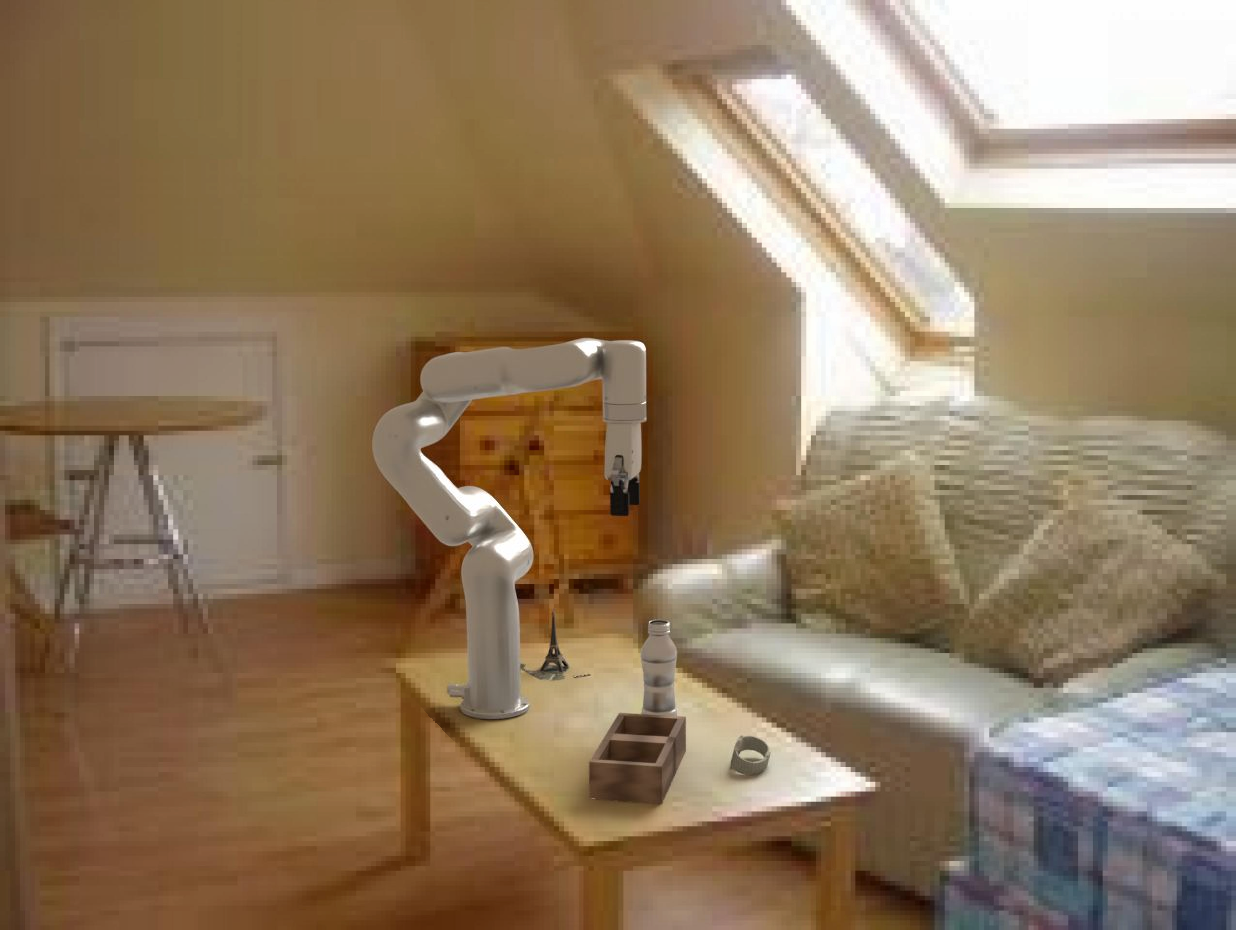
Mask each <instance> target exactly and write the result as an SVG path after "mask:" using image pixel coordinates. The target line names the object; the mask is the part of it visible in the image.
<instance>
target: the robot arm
mask: <svg viewBox="0 0 1236 930" xmlns="http://www.w3.org/2000/svg"><path fill="white" fill-rule="evenodd" d="M646 349H647V348H646V346H645V344H644V343H643V342H641V341H640V340H639V341H638V340H631V339H630V340H629V339H628V340H627V339H626V340H621V339H619V340H611V341H610V340H604V339H597V338H591V337H583V338H578V339H574V340H571V341H567V342H563V343H558V344H552V345H544V346H538V347H537V346H536V347H529V348H516V349H515V348H511V347H508V346H499V347H495V348H494V347H493V348H486V349H479V350H472V351H467V352H465V351H464V352H463V351H456V352H450V353H446V354H442V355H438V356H435V357H432V358H431V359H430V360H428V361H427V363H425V364H424V366H423V368H422V369H421V372H420V378H419V379H420V386H421V389H422V392H421V393H420V394H419V396H418V397H417V398H416V400H414V401H412V402H409V403H405V404H404V403H403V404H401V405H398V406H395V407H394V408H391V409H390V410H388V411H387V412H385V413H384V414H383V415H382V416H381V418H380V419H379V420H378V422H377V424H376V426H375V429H374V431H373V435H372V442H371V443H372V445H371V447H372V449H371V450H372V454H373V455H372V456H373V458H374V462H375V463H376V466H377V468H378V470H379V471H380V473H381V474H382V475H383V477H384V478H385V479H386V480H387V482H388V483H389V484H390V485H391V486H392V487H393V489H395V490H396V491H397V493H398V494H399V495H400V496H401V497H402V498H403V500H404V501H405V502H406V503H407V504H408V506H409V507H410V508H411V510H412V511H413V512H414V513H415V514H416V516H417V517H419V519H420V520H421V521H422V523H423V524H424V525H425V526H426V527H427V528H428V529H429V531H430V532H431V533H432V534H433V536H434V537H435V538H436V539H437V540H438V541H439V543H442V544H444V545H446V546H448V547H457V546H461V545H463V544H465V543H467V542H468V543H469V544H470V546H471V548H470V549H469V550H468V551H467V553H466V554H465V556H464V557H463V560H462V564H461V570H460V573H461V574H460V575H461V576H460V577H461V581H462V588H463V592H464V599H465V600H464V601H465V611H466V612H465V613H466V615H465V616H466V617H465V618H466V635H467V636H466V639H467V641H466V642H467V643H466V644H467V669H468V670H467V671H468V672H467V673H468V674H467V675H468V677H467V679H468V682H465V683H464V684H459V683H448V684H447V687H446V691H447V692H446V693H447V694H448V695H449V697H450V698H461V699H462V700H461V702H460V711H461V712H462V714H464V715H466V716H467V717H471V718H475V719H482V720H483V719H484V720H499V719H501V720H502V719H503V720H504V719H509V718H514V717H517V716H520V715H523V714H525V713H526V712H528V710H529V709H530V703H531V702H530V700H529V699H528V697H526V696H525V695H522V685H521V684H522V683H521V674H522V673H521V669H520V663H521V640H520V639H521V637H520V636H521V632H520V629H521V628H520V626H521V625H520V610H519V609H520V608H519V602H518V598H517V592H516V588H515V587H516V585H515V584H516V583H515V582H517V581H518V580H519V579H521V578H523V577H524V576H525V575H526V574H527V573H528V572H529V570H530V569H531V568H532V566H533V562H534V557H535V556H534V550H533V546H532V544H531V542H530V539H528V536H527V535H526V534H525V533H524V531H523V530H522V529H521V528H520V527H519V525H518V524H517V523H516V522H515V521H514V520H513V519H512V518H511V516H510V515H509V514H508V513H507V512H506V510H505V509H504V508H503V507H502V506H501V505H500V504H499V502H498V501H497V500H496V499H495V498H494V497H493V496H492V495H491V494H490V493H488V491H486V490H484V489H482V488H480V487H477V486H474V485H465V486H461V487H457V486H456V485H455V484H453V482H452V481H451V480H450V479H449V478H448V477H447V475H446V474H445V473H444V472H443V470H442V469H441V467H439V466H438V465H436V464H435V463H434V461H432V460H430V459H429V458H428V457H427V456H425V455H424V453H422V450H421V449H423V448H425V447H428V446H430V445H433V444H435V443H437V442H440V440H442V439H443V438H444V437H445V436H446V435H447V434H448V433H449V431H450V430H451V429H452V428H453V426H454V425H455V423H456V422H457V421H458V420H459V418H460V417H461V416H462V414H463V413H464V411H466V409H467V408H468V406H469V405H470V404H471V402H472V401H473V400H478V399H485V398H486V399H487V398H494V397H503V396H512V395H513V396H515V395H519V394H524V393H525V394H526V393H533V392H535V393H536V392H542V391H549V390H558V389H567V388H572V387H578V386H580V385H582V384H585V383H589V382H592V381H597V380H601V381H602V382H601V383H602V422H603V423H606V431H605V443H604V444H605V445H604V478H605V479H606V480H610V487H609V490H610V491H609V495H610V496H609V504H610V505H609V508H610V509H609V510H610V512H609V514H610V515H611V516H613V517H628V516H629V515H630V506H638V505H640V503H641V495H640V493H641V490H640V489H641V488H640V487H641V485H640V484H641V483H640V473H641V470H642V455H643V454H642V452H643V451H642V427H641V426H642V425H641V423H646V422H647V350H646Z"/></svg>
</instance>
